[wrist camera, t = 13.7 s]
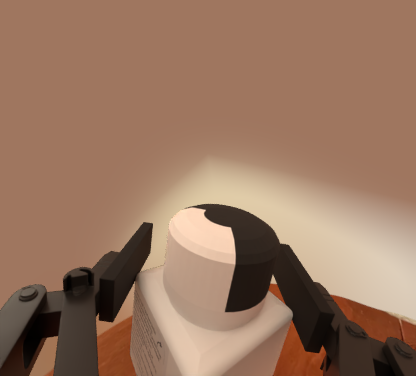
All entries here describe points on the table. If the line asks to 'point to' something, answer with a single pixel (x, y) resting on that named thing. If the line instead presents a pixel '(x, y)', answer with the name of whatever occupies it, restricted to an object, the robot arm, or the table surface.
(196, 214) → the container
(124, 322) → the table surface
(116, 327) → the table surface
